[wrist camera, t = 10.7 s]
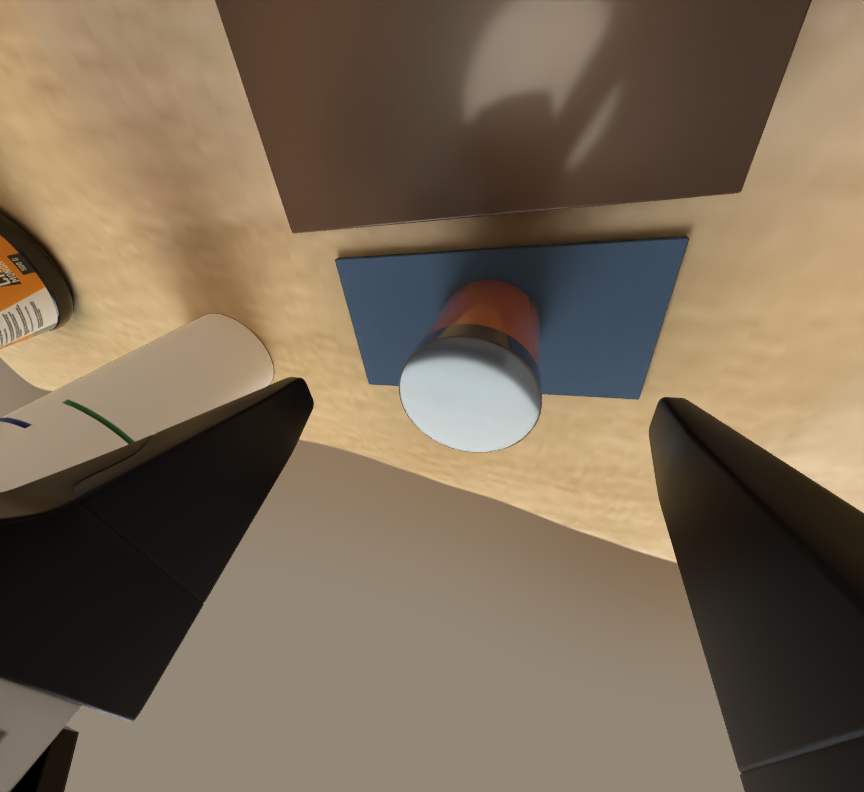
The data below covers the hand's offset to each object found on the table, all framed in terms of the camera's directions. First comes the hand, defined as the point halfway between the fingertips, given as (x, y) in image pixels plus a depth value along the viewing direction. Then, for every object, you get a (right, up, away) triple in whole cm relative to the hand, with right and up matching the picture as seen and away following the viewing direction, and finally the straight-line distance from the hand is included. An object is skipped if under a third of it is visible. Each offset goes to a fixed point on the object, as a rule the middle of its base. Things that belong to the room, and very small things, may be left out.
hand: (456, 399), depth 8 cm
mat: (+3, +4, +12) cm, 13 cm away
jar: (+3, +4, +11) cm, 12 cm away
